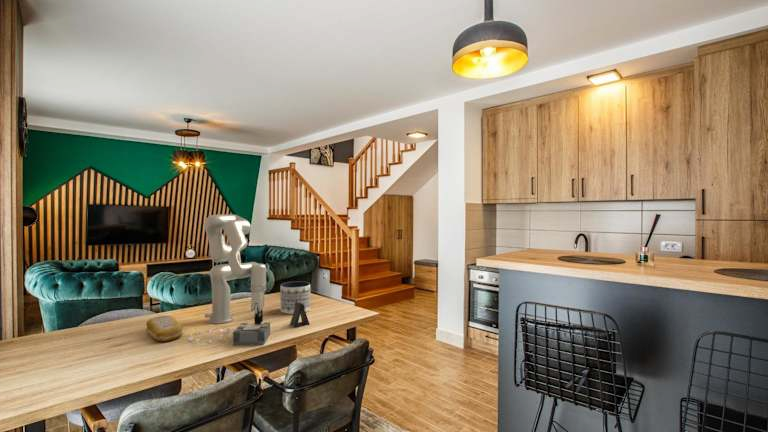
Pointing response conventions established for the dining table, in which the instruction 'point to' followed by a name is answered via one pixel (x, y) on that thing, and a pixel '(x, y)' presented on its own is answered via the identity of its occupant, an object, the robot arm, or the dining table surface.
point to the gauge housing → (251, 336)
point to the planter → (294, 296)
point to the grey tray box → (252, 327)
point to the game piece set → (208, 331)
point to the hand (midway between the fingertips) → (258, 322)
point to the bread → (164, 328)
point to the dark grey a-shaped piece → (297, 312)
